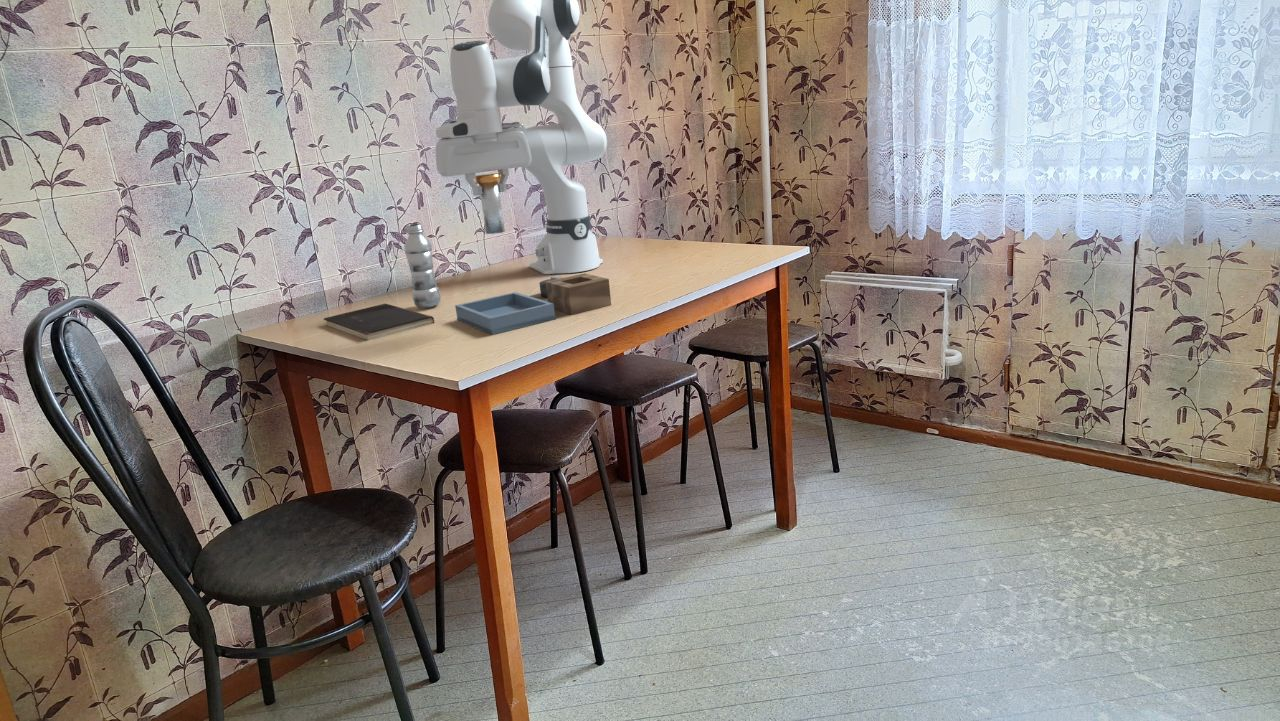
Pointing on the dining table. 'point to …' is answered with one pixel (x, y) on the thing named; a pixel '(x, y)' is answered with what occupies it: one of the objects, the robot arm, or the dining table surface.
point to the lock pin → (491, 202)
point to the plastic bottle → (421, 267)
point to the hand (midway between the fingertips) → (489, 193)
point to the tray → (505, 312)
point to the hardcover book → (378, 321)
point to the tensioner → (575, 293)
